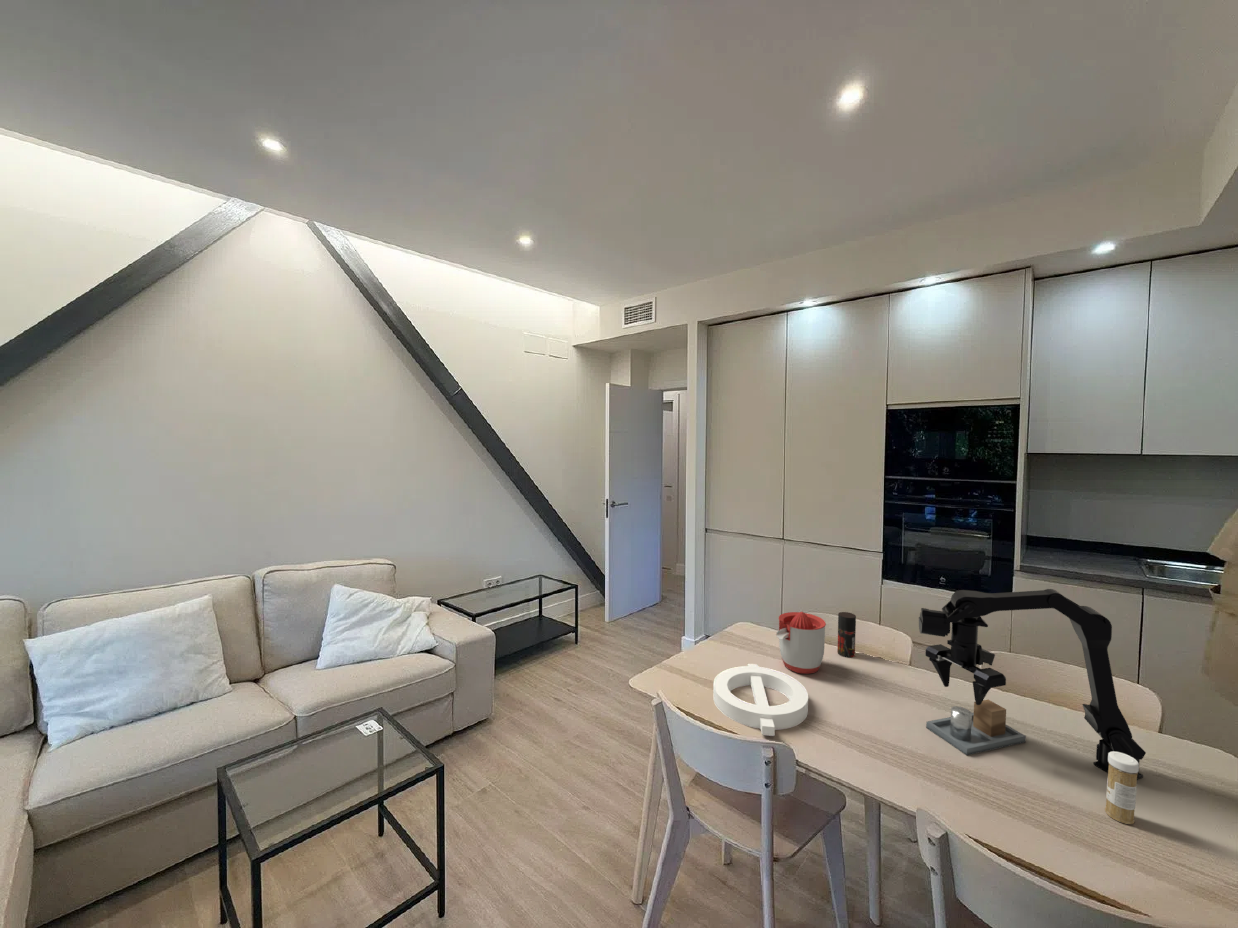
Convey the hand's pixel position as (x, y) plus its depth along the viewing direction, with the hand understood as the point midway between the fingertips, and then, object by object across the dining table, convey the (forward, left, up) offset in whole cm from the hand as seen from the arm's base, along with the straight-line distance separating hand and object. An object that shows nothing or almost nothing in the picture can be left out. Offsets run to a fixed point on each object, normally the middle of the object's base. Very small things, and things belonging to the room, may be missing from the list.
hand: (961, 695), depth 130 cm
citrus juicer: (+46, +18, -12) cm, 51 cm away
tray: (0, -5, -12) cm, 13 cm away
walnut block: (0, -10, -11) cm, 15 cm away
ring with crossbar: (+30, +43, -13) cm, 54 cm away
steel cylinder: (0, 0, -11) cm, 11 cm away
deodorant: (+50, -5, -12) cm, 52 cm away
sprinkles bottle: (-30, -8, -12) cm, 33 cm away
